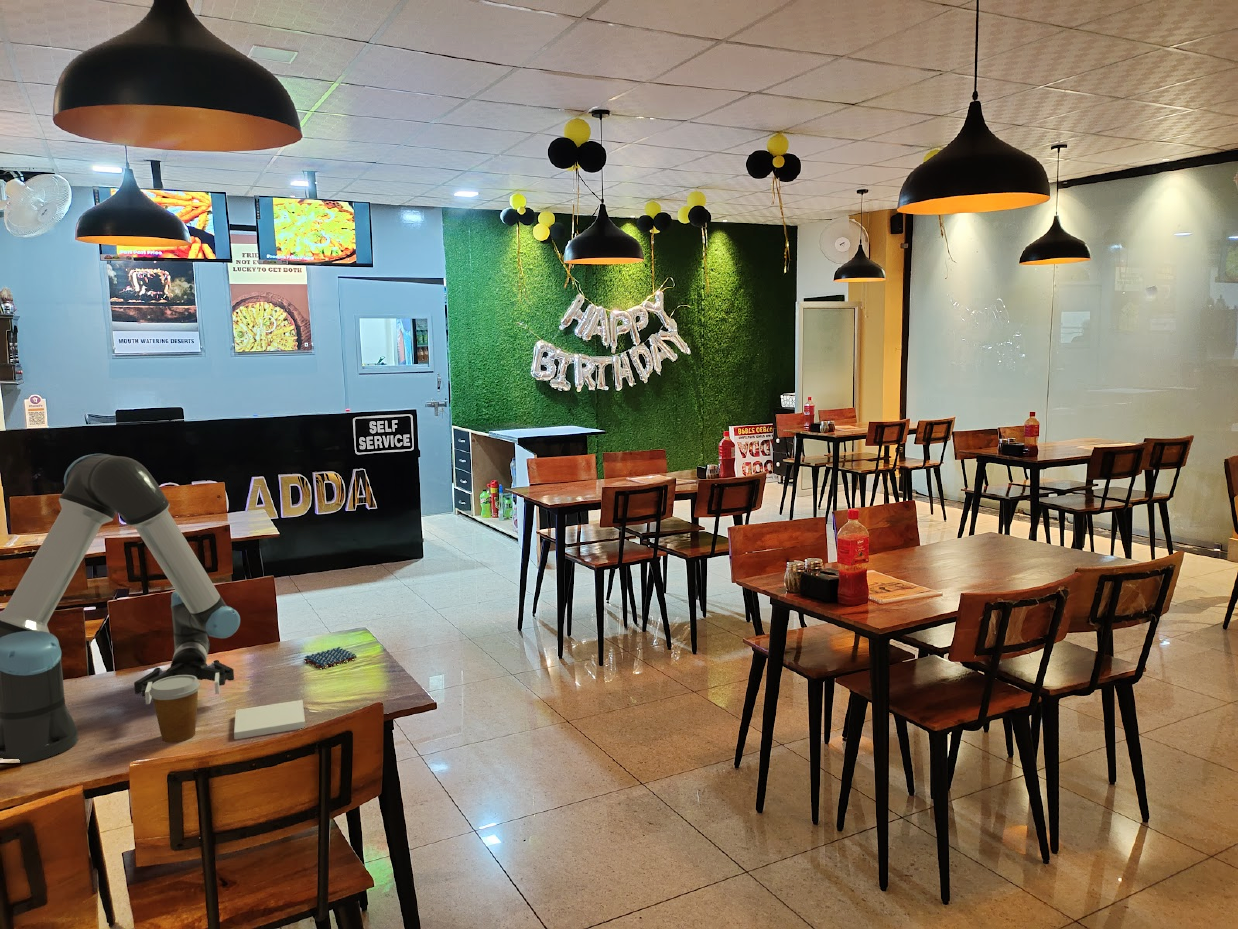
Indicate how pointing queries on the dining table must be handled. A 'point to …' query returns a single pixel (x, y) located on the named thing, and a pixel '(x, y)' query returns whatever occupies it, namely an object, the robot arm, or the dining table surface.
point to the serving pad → (269, 719)
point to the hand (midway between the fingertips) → (182, 693)
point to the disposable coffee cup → (176, 706)
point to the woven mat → (329, 657)
